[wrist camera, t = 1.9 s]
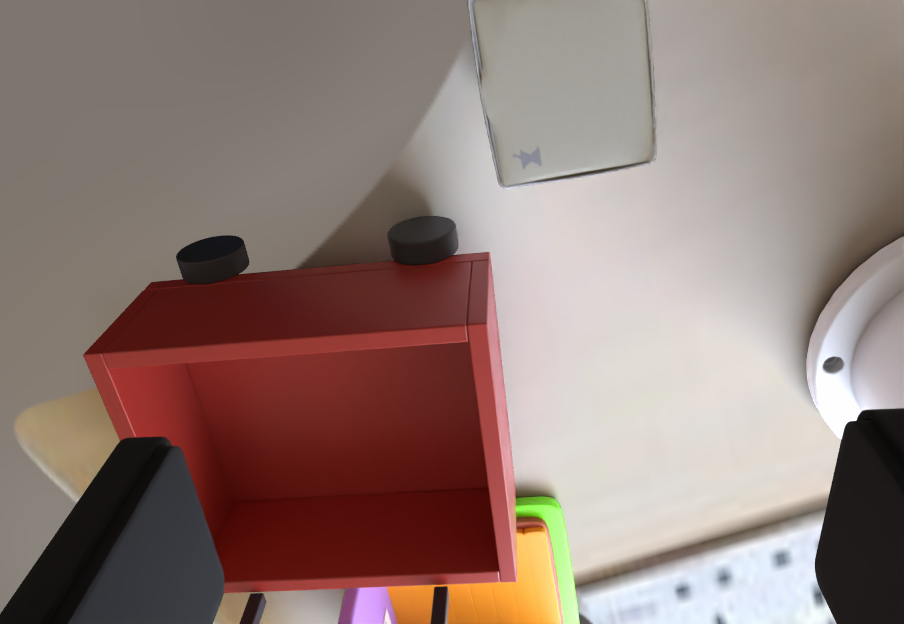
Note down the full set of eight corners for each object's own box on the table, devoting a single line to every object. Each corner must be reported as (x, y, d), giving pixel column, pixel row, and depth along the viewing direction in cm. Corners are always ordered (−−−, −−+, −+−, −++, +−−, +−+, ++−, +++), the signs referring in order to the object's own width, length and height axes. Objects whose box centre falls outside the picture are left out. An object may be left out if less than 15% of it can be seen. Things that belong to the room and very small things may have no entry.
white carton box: (610, 91, 28) (660, 175, 19) (496, 110, 29) (494, 200, 20) (599, -59, 26) (650, -42, 17) (475, -35, 26) (461, -6, 17)
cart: (488, 209, 31) (480, 382, 20) (516, 473, 37) (522, 711, 26) (162, 240, 32) (-16, 416, 21) (246, 488, 39) (145, 718, 28)
